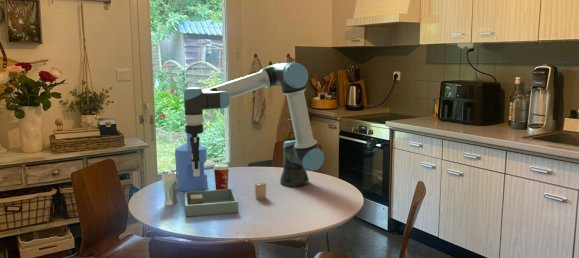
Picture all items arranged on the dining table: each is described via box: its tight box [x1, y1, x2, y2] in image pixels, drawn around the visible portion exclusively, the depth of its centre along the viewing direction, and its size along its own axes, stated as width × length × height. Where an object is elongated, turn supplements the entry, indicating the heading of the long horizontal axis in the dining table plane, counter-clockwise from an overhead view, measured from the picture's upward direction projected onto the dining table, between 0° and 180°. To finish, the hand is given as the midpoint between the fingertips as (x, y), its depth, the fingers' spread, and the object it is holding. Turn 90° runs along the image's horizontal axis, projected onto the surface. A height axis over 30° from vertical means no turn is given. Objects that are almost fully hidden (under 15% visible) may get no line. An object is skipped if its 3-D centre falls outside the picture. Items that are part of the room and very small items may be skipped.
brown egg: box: [254, 182, 267, 201], centre depth 211 cm, size 5×5×7 cm
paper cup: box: [212, 163, 230, 190], centre depth 218 cm, size 8×8×14 cm
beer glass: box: [161, 169, 179, 207], centre depth 202 cm, size 7×7×15 cm
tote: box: [184, 188, 239, 218], centre depth 198 cm, size 22×20×5 cm
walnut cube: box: [191, 194, 203, 205], centre depth 196 cm, size 5×5×5 cm
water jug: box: [174, 133, 209, 193], centre depth 226 cm, size 16×16×28 cm
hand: (196, 172), depth 194 cm, fingers open, 13 cm apart
